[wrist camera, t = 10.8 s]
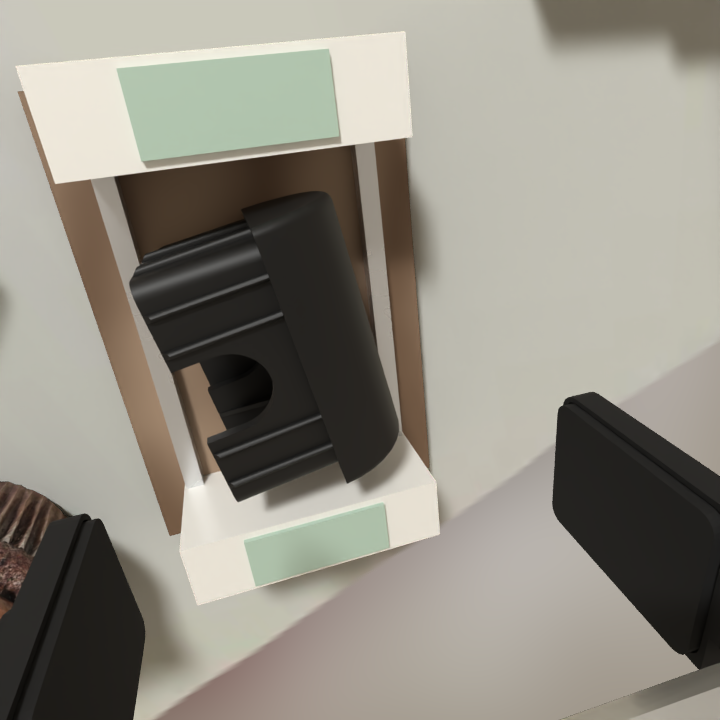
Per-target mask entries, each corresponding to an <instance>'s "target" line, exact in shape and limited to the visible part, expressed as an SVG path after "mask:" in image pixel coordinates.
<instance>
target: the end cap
mask: <svg viewBox="0 0 720 720" xmlns="http://www.w3.org/2000/svg"><path fill="white" fill-rule="evenodd" d="M241 211H242V214H243V216H244V219H242V220H239V221H236V222H233V223H230V224H227V225H224V226H221V227H218V228H215V229H212V230H209V231H206V232H203V233H201V234H198V235H195V236H192V237H189V238H186V239H183V240H180V241H177V242H174V243H171V244H168V245H165V246H163V247H161V248H160V249H158V250H155V251H153V252H150V253H147V254H145V255H144V258H143V260H142V262H141V264H140V266H138V267H136V269H135V272H134V274H133V276H132V278H131V279H130V281H129V286H130V290H131V294H132V296H133V299H134V301H135V303H136V306H137V307H138V309H139V311H140V313H141V315H142V317H143V319H144V321H145V323H146V325H147V327H148V329H149V331H150V333H151V335H152V337H153V339H154V341H155V343H156V345H157V347H158V349H159V351H160V353H161V355H162V357H163V359H164V360H165V362H166V364H167V366H168V368H169V370H170V372H171V373H173V372H176V371H178V370H181V369H184V368H186V367H189V366H192V365H194V364H197V363H200V365H201V367H202V369H203V371H204V373H205V375H206V378H207V380H208V382H209V384H210V387H208V392H209V394H210V397H211V399H212V401H213V403H214V405H215V407H216V409H217V411H218V413H219V415H220V417H221V419H222V421H223V424H224V426H225V428H226V431H223V432H221V433H218V434H216V435H213V436H211V437H208V438H207V445H208V447H209V449H210V451H211V453H212V455H213V457H214V459H215V461H216V463H217V465H218V467H219V468H220V470H221V472H222V474H223V476H224V478H225V480H226V482H227V484H228V486H229V488H230V490H231V492H232V494H233V496H234V498H235V499H236V501H237V502H241V501H243V500H246V499H248V498H250V497H253V496H255V495H258V494H260V493H263V492H265V491H267V490H270V489H272V488H275V487H277V486H280V485H282V484H285V483H287V482H289V481H292V480H294V479H297V478H299V477H302V476H304V475H307V474H309V473H311V472H314V471H316V470H319V469H321V468H324V467H326V466H329V465H331V464H333V463H336V462H338V463H339V465H340V468H341V470H342V473H343V475H344V478H345V480H346V483H347V484H348V483H350V482H352V481H354V480H356V479H358V478H360V477H362V476H363V475H365V474H366V473H368V472H369V471H371V470H373V469H374V468H375V467H376V466H377V465H378V464H379V463H381V462H382V461H383V460H384V459H385V458H386V456H387V455H388V454H389V453H390V451H391V450H392V448H393V447H394V445H395V443H396V441H397V437H398V433H399V421H398V417H397V414H396V410H395V407H394V404H393V400H392V397H391V394H390V390H389V387H388V384H387V380H386V377H385V374H384V370H383V367H382V364H381V360H380V357H379V354H378V350H377V347H376V344H375V340H374V337H373V334H372V330H371V327H370V324H369V320H368V317H367V314H366V310H365V307H364V304H363V300H362V297H361V294H360V290H359V287H358V284H357V280H356V277H355V274H354V270H353V267H352V264H351V260H350V257H349V254H348V250H347V247H346V244H345V241H344V237H343V234H342V231H341V227H340V224H339V221H338V217H337V214H336V211H335V207H334V204H333V201H332V198H331V197H330V195H329V194H327V193H326V192H323V191H309V192H302V193H297V194H292V195H288V196H284V197H280V198H276V199H272V200H269V201H265V202H262V203H258V204H255V205H252V206H249V207H246V208H243V209H241Z"/></svg>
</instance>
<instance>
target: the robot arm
mask: <svg viewBox="0 0 720 720" xmlns="http://www.w3.org/2000/svg"><path fill="white" fill-rule="evenodd" d="M554 468H555V469H554V484H553V501H552V504H553V510H554V513H555V515H556V517H557V519H558V520H559V522H560V523H561V524H562V525H563V526H564V527H565V529H566V530H567V531H568V532H569V533H570V534H571V535H572V536H573V538H574V539H575V540H576V541H577V542H578V543H579V544H580V545H581V547H582V548H583V549H584V550H585V551H586V552H587V553H588V554H589V556H590V557H591V558H592V559H593V560H594V561H595V562H596V563H597V565H599V567H600V568H601V569H602V570H603V571H604V572H605V573H606V575H607V576H608V577H609V578H610V579H611V580H612V582H614V584H615V585H616V586H617V587H618V588H619V589H620V590H621V591H622V593H623V594H624V595H625V596H626V597H627V598H628V600H629V601H630V602H631V603H632V604H633V605H634V606H635V607H636V609H637V610H638V611H639V612H640V613H641V614H642V615H643V616H644V617H645V619H646V620H647V621H648V622H649V623H650V624H651V625H652V627H653V628H654V629H655V630H656V631H657V632H658V633H659V634H660V636H661V637H662V638H663V639H664V640H665V641H666V642H667V643H668V645H669V646H670V647H671V648H672V649H673V650H674V651H676V652H677V653H679V654H682V655H683V654H685V655H686V656H687V657H688V658H689V659H690V660H691V662H692V663H693V664H694V665H695V666H696V667H697V668H698V669H699V670H697V671H695V672H692V673H689V674H686V675H683V676H681V677H678V678H675V679H672V680H669V681H667V682H664V683H661V684H658V685H655V686H653V687H650V688H647V689H644V690H641V691H639V692H636V693H633V694H630V695H628V696H625V697H622V698H619V699H616V700H613V701H611V702H608V703H605V704H602V705H599V706H597V707H594V708H591V709H588V710H585V711H583V712H580V713H577V714H574V715H572V716H569V717H566V718H563V719H560V720H720V476H719V475H717V474H716V473H714V472H713V471H711V470H710V469H709V468H707V467H705V466H704V465H702V464H701V463H700V462H698V461H697V460H695V459H694V458H692V457H691V456H689V455H688V454H686V453H685V452H683V451H682V450H680V449H679V448H677V447H676V446H674V445H673V444H671V443H670V442H668V441H667V440H666V439H664V438H663V437H661V436H660V435H658V434H657V433H655V432H654V431H652V430H651V429H649V428H648V427H646V426H645V425H643V424H642V423H640V422H639V421H637V420H636V419H634V418H633V417H632V416H630V415H629V414H627V413H626V412H624V411H622V410H621V409H620V408H618V407H617V406H615V405H614V404H612V403H611V402H609V401H608V400H606V399H605V398H603V397H602V396H600V395H599V394H597V393H595V392H589V393H585V394H580V395H576V396H572V397H568V398H567V399H565V401H564V404H563V406H561V407H560V408H559V410H558V417H557V434H556V451H555V467H554ZM144 643H145V626H144V621H143V618H142V615H141V613H140V611H139V608H138V606H137V603H136V601H135V599H134V596H133V594H132V591H131V589H130V587H129V584H128V582H127V579H126V577H125V575H124V572H123V570H122V567H121V565H120V563H119V560H118V558H117V555H116V553H115V551H114V548H113V546H112V543H111V541H110V539H109V536H108V534H107V531H106V529H105V527H104V524H103V522H102V521H101V520H100V519H94V520H91V518H90V516H89V515H88V514H80V515H76V516H72V517H68V518H64V519H60V520H55V521H52V522H51V523H50V524H49V525H48V527H47V529H46V531H45V533H44V536H43V538H42V540H41V542H40V545H39V547H38V549H37V552H36V554H35V556H34V558H33V561H32V563H31V565H30V567H29V570H28V572H27V574H26V576H25V579H24V581H23V583H22V586H21V588H20V590H19V592H18V595H17V597H16V599H15V601H14V604H13V606H12V608H11V610H8V611H7V612H6V613H5V614H4V615H3V616H2V617H1V619H0V720H133V717H134V710H135V704H136V697H137V690H138V683H139V677H140V670H141V663H142V656H143V649H144Z"/></svg>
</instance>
